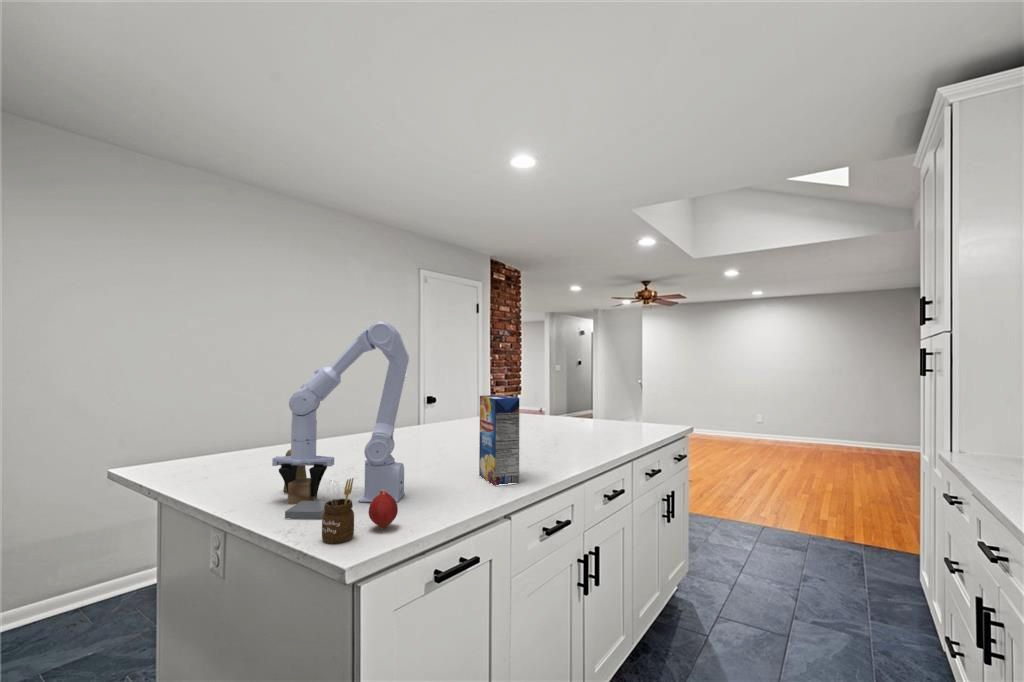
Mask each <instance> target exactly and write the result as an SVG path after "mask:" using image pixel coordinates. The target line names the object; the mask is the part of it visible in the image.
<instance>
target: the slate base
mask: <svg viewBox="0 0 1024 682" xmlns="http://www.w3.org/2000/svg"><path fill="white" fill-rule="evenodd" d="M328 501H329V500H314V501H300V502H299V503H297V504H293V506H290V507H289V508H288V509H286V510H285V511H284V519H285V518H294V519H293V520H322V517H323V514H324V512H325V510H324V506H325V503H326V502H328Z"/></svg>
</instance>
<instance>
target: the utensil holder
mask: <svg viewBox="0 0 1024 682" xmlns="http://www.w3.org/2000/svg"><path fill="white" fill-rule="evenodd" d="M331 482H332V486H331V487H332V490H334V486H335V485H334V482H333V479H331V480H330V481H328V482H327V484H326V486H330V484H331ZM345 482H346V483H345V488H344V493H343V495H344V496H345V498H339V497H340V490H341V489H340V488H341V487H340V486H339V485H340V483H339V482H337V483H335V484H336V486H338V489H336V490H337V494H336V493H335V491H333V495H332V497H333V499H332V497H331V494H329V493H330V492H331V491H330V490H331V489H330V488H331V487H328V488H327V491H326V492H327V497H328V498H330V499H329V500H327V501H328V502H326V503H325V506H324V510H325V512H324V514H323V517H322V519H321V539H322V541H323V542H324V543H326V544H331V545H333V544H335V545H336V544H342V543H346V542H348V541H350V540H352V539H353V537H354V534H355V512H354V510H353V506H354V505H353V501H352V500H351V499H349V495H350V494H351V493H352V491H353V490H352V489H353V484H354V477H352V478H349V479H346V481H345ZM335 495H337V498H335Z"/></svg>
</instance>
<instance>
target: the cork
mask: <svg viewBox="0 0 1024 682" xmlns="http://www.w3.org/2000/svg"><path fill="white" fill-rule="evenodd" d="M285 456H291V449H288V450H287V451H286V453H285ZM297 478H308V477H307V469H306V466H299V465H298V467H297V472H296V479H297ZM283 483H284V484H283V489H282V492H284V493H283V494H285V493H287V494H286V495H288V492H287V488H286V485H285V482H283Z"/></svg>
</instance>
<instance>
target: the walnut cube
mask: <svg viewBox="0 0 1024 682" xmlns="http://www.w3.org/2000/svg"><path fill="white" fill-rule="evenodd" d="M317 499H318V494H317V495H316V496H314V497H311V477H307V478H297V479H295V480H293V481H291V482H289V483H288V494H287V505H296V504H297V503H299V502H300V501H317Z"/></svg>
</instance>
